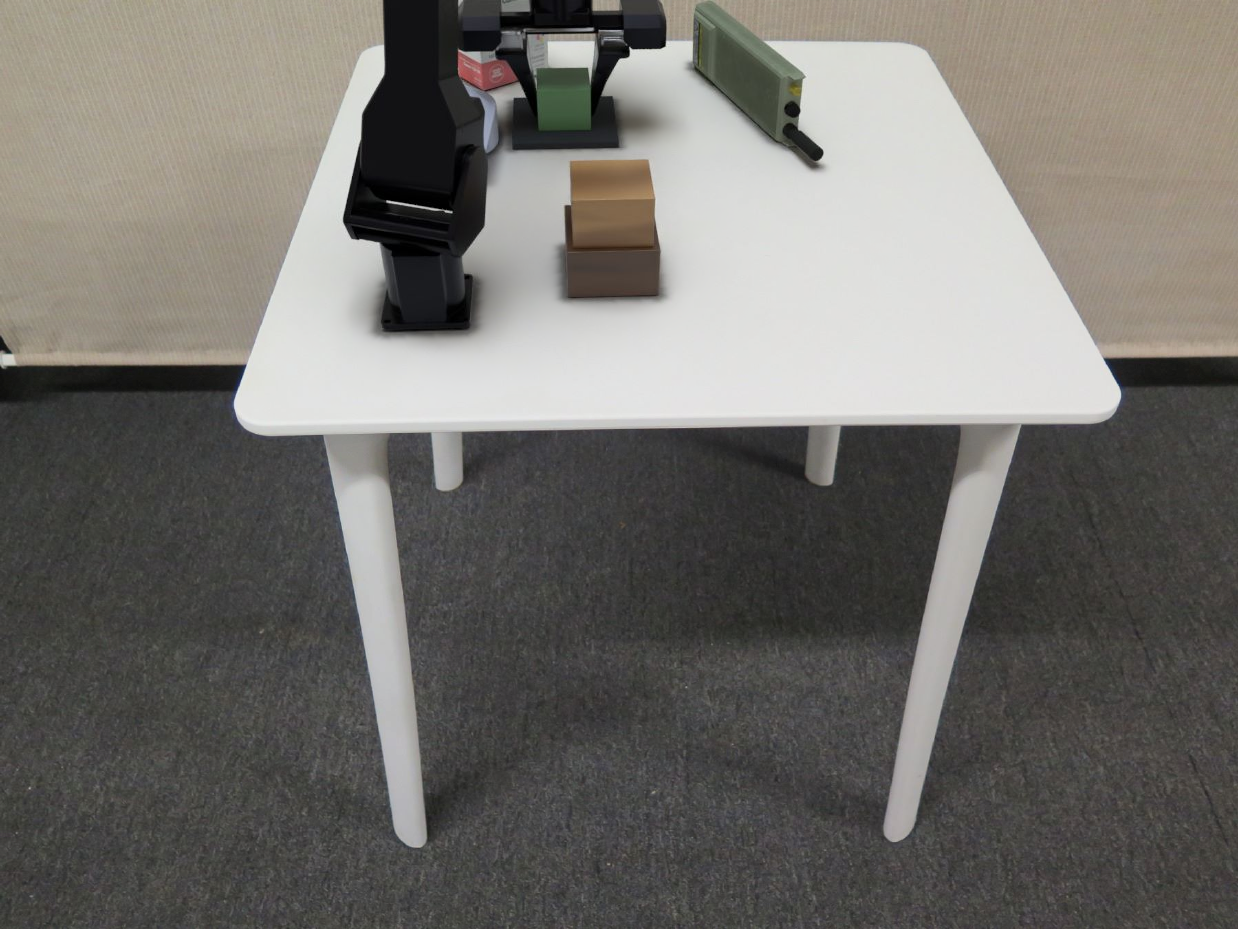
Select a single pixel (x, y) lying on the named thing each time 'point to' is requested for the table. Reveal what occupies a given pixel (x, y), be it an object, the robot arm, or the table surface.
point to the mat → (532, 138)
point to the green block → (563, 99)
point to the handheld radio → (751, 75)
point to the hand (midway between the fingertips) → (564, 113)
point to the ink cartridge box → (495, 72)
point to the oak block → (612, 203)
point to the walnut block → (611, 268)
